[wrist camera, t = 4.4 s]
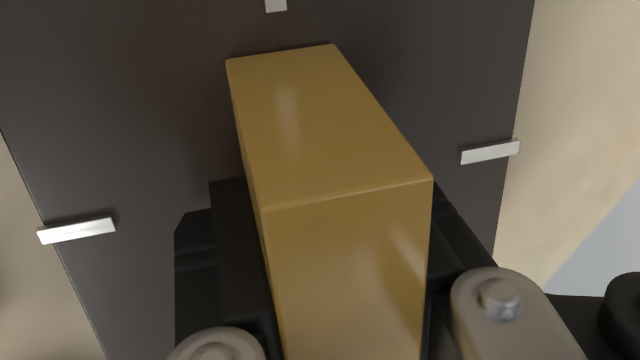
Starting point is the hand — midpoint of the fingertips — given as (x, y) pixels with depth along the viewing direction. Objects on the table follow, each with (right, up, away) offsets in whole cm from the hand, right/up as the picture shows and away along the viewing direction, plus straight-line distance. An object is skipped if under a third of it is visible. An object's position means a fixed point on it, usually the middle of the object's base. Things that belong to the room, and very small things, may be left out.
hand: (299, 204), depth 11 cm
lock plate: (-1, +2, +3) cm, 4 cm away
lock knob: (0, 0, 0) cm, 1 cm away
